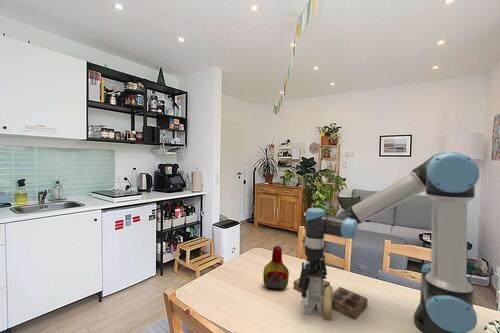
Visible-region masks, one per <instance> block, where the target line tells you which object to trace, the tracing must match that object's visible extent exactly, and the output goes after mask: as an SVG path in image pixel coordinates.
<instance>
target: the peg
mask: <svg viewBox="0 0 500 333" xmlns="http://www.w3.org/2000/svg"><path fill="white" fill-rule="evenodd" d="M333 289H334V288H333V286H331V285H330V286H329V285H324V286H323V295H322V301H321V317H322V319H323V320H324V321H331V320H332V319H333V308H332V293H333V292H334V291H333Z"/></svg>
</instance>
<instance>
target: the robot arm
mask: <svg viewBox="0 0 500 333" xmlns="http://www.w3.org/2000/svg"><path fill="white" fill-rule="evenodd" d="M479 178H480V169H479V166H478V164H477V163H476V162H475V161H474V159H472V158H471V157H469V156H468V155H466V154H465V153H461V152H457V151H447V152H441V153H437V154H434V155H432V156H431V157H429V158H427V159H426V161H424V162H423V163H421V164H420V165H418V166H416V167H415V168H413V169H412V170H410V174H409V175H406V176H404V177H403V178H401V179H399V180H397V181H395V182H394V183H392V184H390V185H388V186H387V187H384V188H383V189H380V190H379V191H377V192H376V193H374V194H372V195H370V196H368V197H366V198H365V199H363V200H361V201H360V202H357V203H356V204H354V205H352V206H350V207H348V208H346V209H343V210H342V211H340V212H339V213H338V214H337V215H336V216H333V215H328V214H326V210H325V209H323V208H320V207H319V208H318V207H309V208H308V209H307V210H306V213H305V235H304V239H305V240H304V244H305V245H304V255H305V256H306V262H305V261H303V262H302V263H301V270H300V275H299V278H300V280H299V285H298V288H300V289H302V292H301V304H303V305H304V306H305V305H306V306H308V302H309V289H308V286H309V283H310V277H309V278H307V276H308V274H310V275H311V274H312V273H314V271H315V269H317V268H319V269H321V272H322V296H323V286H324V280H326V279H327V275H328V271H327V266H326V256H325V248H324V247H325V235H329V236H334V237H337V238H343V239H351V240H354V239H356V238H357V234H358V228H359V226H358V225H360V224H362V223H363V222H366V221H367V220H368V221H369V219H372V218H374V217H376V216H378V215H380V214H381V213H384V212H385V211H387V210H390V209H392V208H394V207H395V206H398V205H400V204H402V203H403V202H406V201H408V200H411V199H412V198H414V197H416V196H418V195H420V194H422V193H424V192H425V195H426V196H428V198H429V199H430V200H431V235H430V236H431V239H430V240H431V242H430V243H431V244H430V246H431V247H430V254H431V255H430V258H431V259H430V263H425V264H423V265H422V266H421V271H420V272H421V277H420V278H421V279H420V280H421V282H420V296H419V297H420V300H419V304H418V305H417V307H416V309H415V311H414V313H413V323H414V325H415V326H416V328H417V329H418V330H419V331H420V332H422V333H468V332H472V330H474V329H475V328H476V326H477V324H478V315H477V312H476V310H475V309H474V286H473V285H472V283H470V282H469V281H468V280H467V268H468V267H467V266H468V265H467V262H468V259H467V258H468V255H467V253H468V203H469V202H470V201H472V200H473V199H474V198H475V197H476V196H475V194H476V193H475V192H476V191H475V189H476V188H475V187H476V184H477V182H478V180H479ZM309 269H311V270H309Z"/></svg>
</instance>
